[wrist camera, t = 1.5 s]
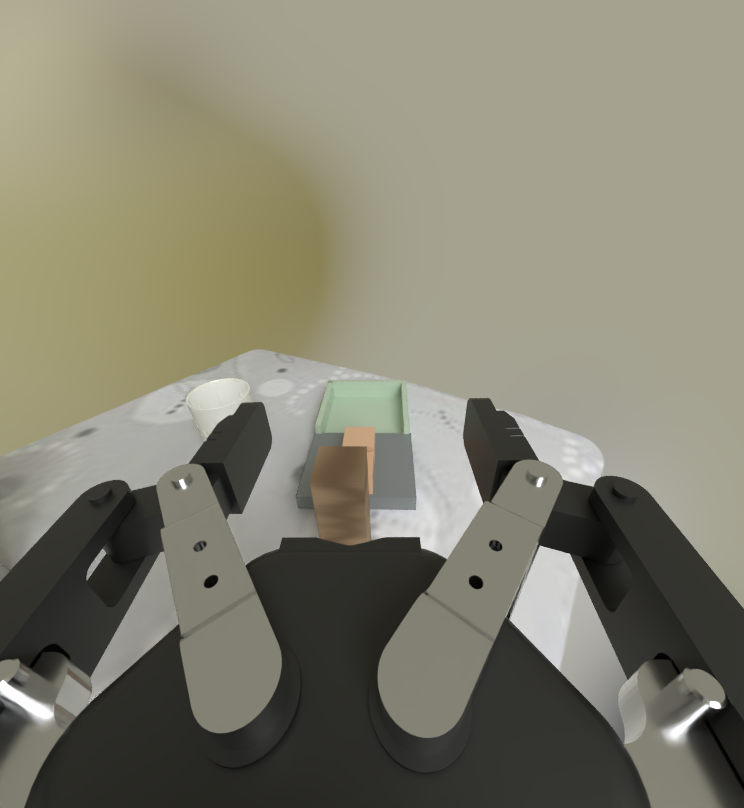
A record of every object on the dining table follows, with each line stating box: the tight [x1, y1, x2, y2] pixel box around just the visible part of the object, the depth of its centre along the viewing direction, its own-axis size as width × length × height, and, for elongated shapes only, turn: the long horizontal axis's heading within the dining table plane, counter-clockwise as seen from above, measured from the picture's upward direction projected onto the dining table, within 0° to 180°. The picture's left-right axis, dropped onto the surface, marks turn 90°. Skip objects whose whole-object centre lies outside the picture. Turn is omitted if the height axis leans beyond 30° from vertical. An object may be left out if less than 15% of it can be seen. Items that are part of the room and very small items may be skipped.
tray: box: [315, 380, 410, 434], centre depth 54 cm, size 14×13×4 cm
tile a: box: [367, 452, 374, 494], centre depth 40 cm, size 4×4×3 cm
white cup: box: [186, 378, 253, 442], centre depth 46 cm, size 8×8×10 cm
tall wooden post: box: [310, 446, 371, 545], centre depth 30 cm, size 4×4×14 cm
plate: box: [296, 433, 416, 510], centre depth 44 cm, size 14×12×2 cm
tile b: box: [342, 427, 376, 464], centre depth 44 cm, size 4×4×3 cm
